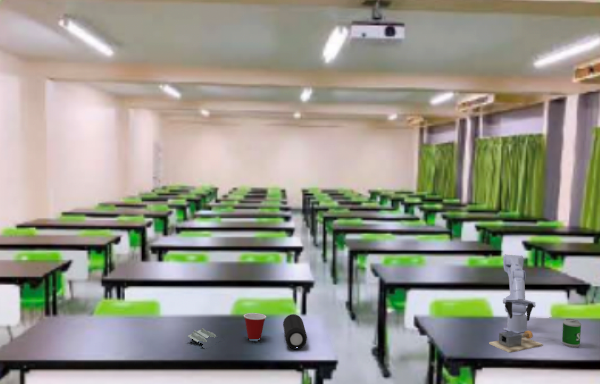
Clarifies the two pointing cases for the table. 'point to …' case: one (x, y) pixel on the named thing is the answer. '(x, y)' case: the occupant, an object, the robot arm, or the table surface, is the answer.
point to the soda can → (571, 333)
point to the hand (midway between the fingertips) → (519, 318)
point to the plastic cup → (254, 324)
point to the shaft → (527, 334)
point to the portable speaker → (294, 331)
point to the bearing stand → (514, 342)
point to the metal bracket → (201, 335)
